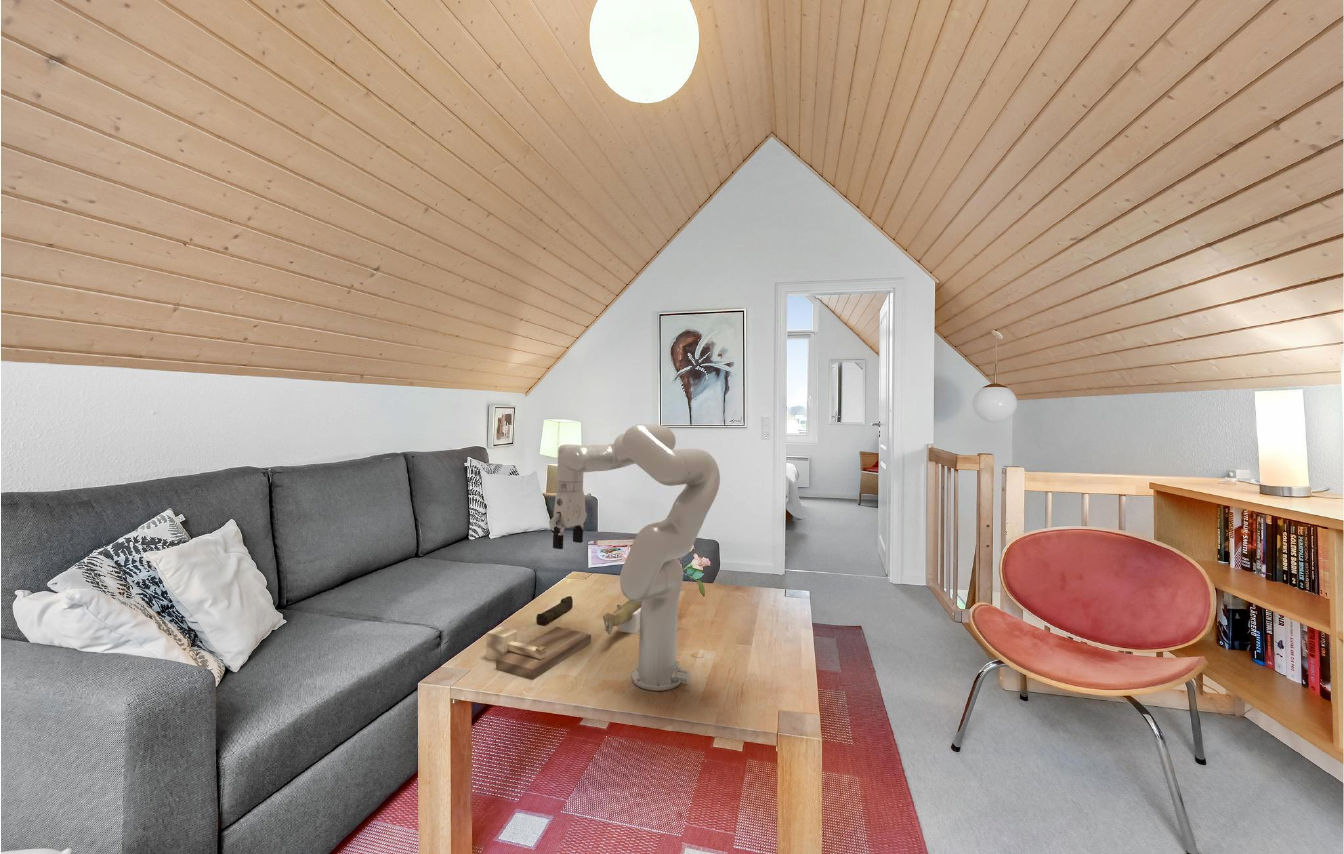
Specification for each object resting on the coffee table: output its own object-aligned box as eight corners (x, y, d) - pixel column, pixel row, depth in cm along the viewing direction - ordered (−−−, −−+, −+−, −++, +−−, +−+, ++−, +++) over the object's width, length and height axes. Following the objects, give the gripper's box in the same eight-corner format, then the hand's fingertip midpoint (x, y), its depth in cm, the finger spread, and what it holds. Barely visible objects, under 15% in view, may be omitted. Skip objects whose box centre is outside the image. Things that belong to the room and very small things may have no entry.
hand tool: (545, 627, 172) (546, 612, 172) (535, 625, 173) (536, 610, 173) (578, 609, 189) (579, 595, 189) (569, 607, 191) (569, 594, 191)
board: (590, 642, 160) (591, 634, 160) (533, 679, 137) (533, 669, 137) (557, 634, 165) (557, 626, 165) (496, 668, 142) (496, 659, 142)
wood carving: (588, 650, 155) (589, 611, 155) (636, 611, 188) (637, 578, 188) (617, 655, 152) (618, 615, 152) (660, 615, 185) (661, 582, 185)
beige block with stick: (548, 664, 145) (549, 638, 145) (536, 672, 141) (537, 645, 141) (499, 651, 152) (499, 626, 152) (485, 658, 148) (486, 632, 148)
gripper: (562, 491, 151) (560, 553, 151) (596, 485, 166) (595, 541, 167) (540, 488, 154) (538, 549, 154) (576, 483, 170) (574, 538, 170)
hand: (568, 545), depth 160 cm, fingers open, 9 cm apart
